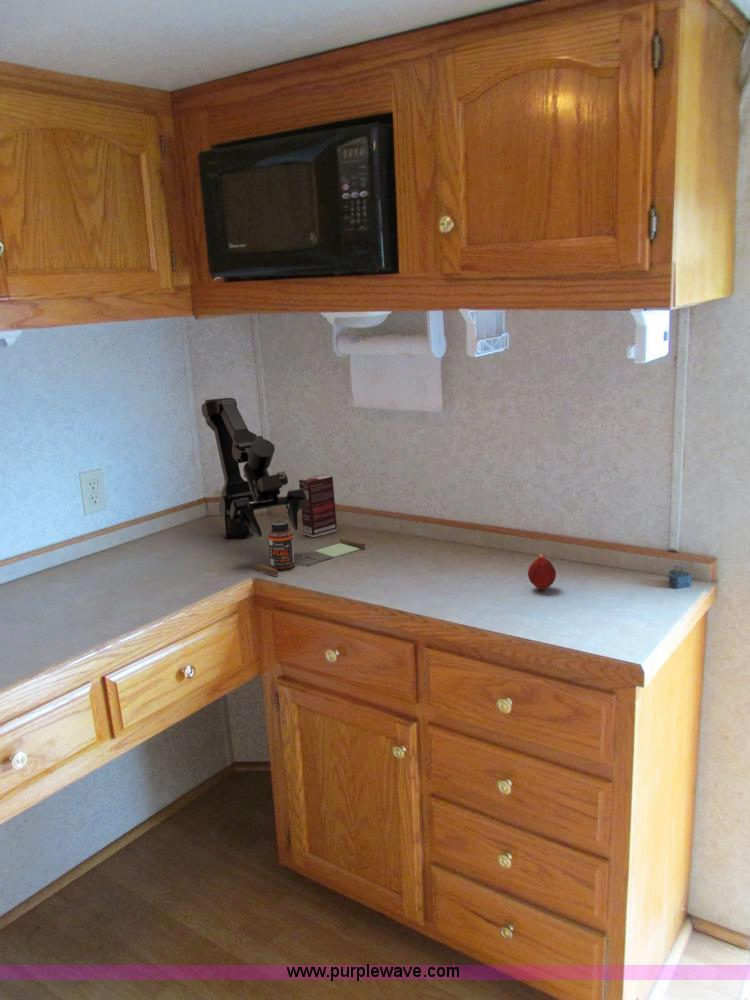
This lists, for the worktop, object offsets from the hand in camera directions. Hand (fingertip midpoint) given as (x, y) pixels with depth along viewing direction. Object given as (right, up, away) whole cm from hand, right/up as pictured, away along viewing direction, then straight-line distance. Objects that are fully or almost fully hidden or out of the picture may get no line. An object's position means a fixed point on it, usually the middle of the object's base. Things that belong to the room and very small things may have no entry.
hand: (278, 532), depth 201 cm
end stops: (+7, -7, +6) cm, 12 cm away
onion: (+59, -12, -24) cm, 65 cm away
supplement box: (+8, -2, +29) cm, 30 cm away
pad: (+14, -5, +12) cm, 19 cm away
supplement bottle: (+1, -9, +1) cm, 9 cm away
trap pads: (+7, -7, +6) cm, 12 cm away
